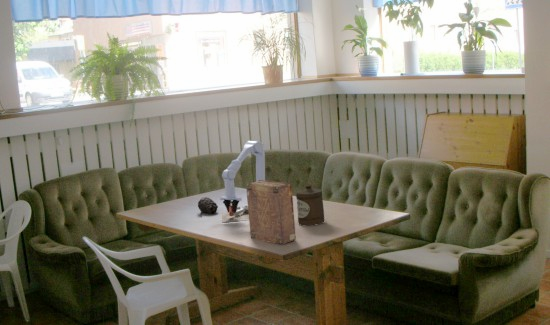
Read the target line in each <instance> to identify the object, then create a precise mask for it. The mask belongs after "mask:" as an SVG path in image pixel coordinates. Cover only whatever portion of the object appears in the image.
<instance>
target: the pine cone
mask: <svg viewBox="0 0 550 325" xmlns="http://www.w3.org/2000/svg"><path fill="white" fill-rule="evenodd" d="M197 207H198V210H199V211H200V215H203V214H205V215H206V214H207V215H213V214H216V212H217V211H218V208H219V206H218V205H217V202H215V201H214V200H213V199H211V198H210V197H201V198H200V200H199V201H198V203H197Z"/></svg>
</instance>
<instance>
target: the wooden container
mask: <svg viewBox="0 0 550 325" xmlns="http://www.w3.org/2000/svg"><path fill="white" fill-rule="evenodd" d="M312 187H313V186H312V184H310V183H308V184H305V188H304V189H298V190H297V191H296V192H295V197H296V210H297V211H296V212H297V222H298V223H299V224H298V225H300V224H301V225H300V226H303V225H313V226H316V225H315V224H319V225H321V224H320V223H322V222H324V221H325V220H326V219H325V209H324V202H323V201H324V200H323V191H322V189H320V188H312ZM324 223H325V222H324ZM322 224H323V223H322Z"/></svg>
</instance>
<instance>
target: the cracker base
mask: <svg viewBox="0 0 550 325" xmlns="http://www.w3.org/2000/svg"><path fill="white" fill-rule="evenodd" d="M237 209H239V210H240V209H241V206H237ZM247 220H249V212H248V211H244V212H242V213H239V214H236V215H234V216H229V212H228V211H224V212H222V211H221V222H222V223H226V222H230V223H233V222H234V223H235V222H237V221H240V222H244V221H247Z"/></svg>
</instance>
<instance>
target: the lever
mask: <svg viewBox="0 0 550 325" xmlns="http://www.w3.org/2000/svg"><path fill="white" fill-rule="evenodd" d="M244 211H248V205H244V206H242V207H241V208H240V210H239V209H237V210H236V212H235V213H233V207H232V204H231V205H230V206H229V216H234V215H236V214H239V213H242V212H244Z"/></svg>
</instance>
